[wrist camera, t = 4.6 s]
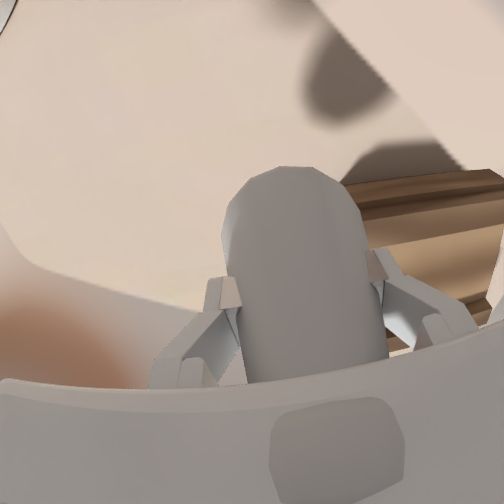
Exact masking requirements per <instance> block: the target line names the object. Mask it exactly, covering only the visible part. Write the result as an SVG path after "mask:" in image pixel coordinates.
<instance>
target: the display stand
mask: <svg viewBox="0 0 504 504" xmlns="http://www.w3.org/2000/svg"><path fill="white" fill-rule="evenodd" d="M344 187H345V188H346V190H347V191H348V193H349V194H350V196H351V197H352V199H353V201H354V202H355V204H356V205H357V207H358V208H359V210H360V214H361V217H362V221H363V225H364V229H365V233H366V237H367V241H368V245H369V249H370V250H373V249H377V248H381V247H387V248H388V250H389V251H390V253H391V254H392V256H393V258H394V259H395V261H396V262H397V264H398V266H399V267H400V269H401V271H402V272H403V274H404V276H406V275H410V276H412V277H414V278H416V279H418V280H420V281H421V282H423V283H425V284H427V285H429V286H431V287H433V288H435V289H437V290H439V291H441V292H443V293H445V294H447V295H449V296H450V297H452V298H454V299H456V300H458V301H460V302H462V303H464V305H465V306H466V308H467V310H468V311H469V313H470V314H471V316H472V318H473V319H474V321H475V323H476V324H477V326H480V325H483V324H486V323H487V321H488V318H489V316H490V313H491V311H492V307H491V305H490V304H489V302H488V301H487V300H486V298H485V297H486V294H487V291H488V288H489V285H490V281H491V278H492V274H493V271H494V267H495V264H496V260H497V256H498V252H499V248H500V243H501V239H502V234H503V229H504V178H503V177H501V176H500V175H498V174H497V173H495V172H493V171H492V170H490V169H483V170H470V171H459V172H449V173H439V174H430V175H421V176H412V177H404V178H396V179H388V180H381V181H373V182H366V183H359V184H352V185H345V186H344ZM385 331H386V337H387V344H388V351H389V352H393V351H397V350H401V349H405V348H409V347H410V346H409V345H407V344H406V343H405V342H404V341H402V340H401V339H400V338H399V337H398V336H396V335H395V334H394V333H393V332H391V331H390V330H389V329H388V328H386V327H385Z"/></svg>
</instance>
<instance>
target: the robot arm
mask: <svg viewBox="0 0 504 504" xmlns="http://www.w3.org/2000/svg"><path fill="white" fill-rule="evenodd" d="M15 1H16V0H0V32H1V31H2V29H3V27H4V25H5V23H6V21H7V19H8V17H9V15H10V13H11V11H12V8H13V6H14V4H15ZM365 256H366V262H367V269H368V276H369V283H370V284H371V286H372V287H373V288H374V289H375V290H377V291H378V292H379V296H380V301H381V307H382V313H383V318H384V324H385V327H386V328H388V329H389V330H390V331H391V332H393V333H394V334H395V335H396V336H398V337H399V338H400V339H401V340H402V341H404V342H405V343H406V344H407V345H409V346H410V347H411V348H412V349H413V352H409V353H406V354H402V355H399V356H395V357H391V358H387V359H383V360H379V361H375V362H371V363H367V364H363V365H358V366H354V367H349V368H345V369H340V370H335V371H330V372H325V373H319V374H314V375H308V376H302V377H296V378H289V379H282V380H275V381H267V382H259V383H251V384H241V385H231V386H219V385H218V384H217V383H218V381H219V380H220V378H221V377H222V375H223V373H224V372H225V370H226V369H227V367H228V365H229V364H230V362H231V361H232V359H233V358H234V356H235V355H236V353H237V351H238V350H239V347H241V345H240V340H239V334H238V329H237V324H236V317H237V315H238V314H239V312H240V311H241V309H242V303H241V299H240V295H239V292H238V288H237V284H236V280H235V277H234V276H233V275H230V276H224V277H217V278H211V279H209V280H208V283H207V289H206V295H205V301H204V307H203V312H202V313H198V314H197V315H196V317H194V318H193V319H192V321H191V322H190V323H189V324H188V325H187V326H186V327H185V328H184V329H183V330H182V331H181V332H180V333H179V334H178V335H177V336H176V337H175V338H174V340H172V341H171V343H170V344H169V345H168V346H167V347H166V348H165V349H164V350H163V351H162V352H161V353H160V354H159V355H158V356H157V357H156V358H155V359H154V363H153V367H152V371H151V376H150V380H149V384H148V389H105V388H104V389H103V388H87V387H73V386H63V385H53V384H44V383H36V382H29V381H23V380H17V379H11V378H7V379H3V380H2V381H1V382H0V504H283V503H281V502H280V499H279V496H278V493H277V491H276V488H275V485H274V482H273V479H272V476H271V473H270V470H269V467H268V466H269V451H270V435H271V430H272V428H273V426H274V424H275V422H276V420H277V419H278V418H279V417H281V416H282V415H284V414H285V413H286V412H290V411H295V410H299V409H303V408H307V407H311V406H315V405H319V404H323V403H326V402H330V401H340V400H348V399H356V398H364V397H370V396H372V397H376V398H380V399H382V400H383V401H385V402H386V403H387V404H388V405H389V406H390V407H391V408H392V410H393V412H394V414H395V417H396V419H397V422H398V424H399V427H400V429H401V432H402V434H403V437H404V439H405V458H404V476H403V479H402V480H401V481H400V482H398V483H396V484H394V485H392V486H390V487H388V488H386V489H384V490H382V491H380V492H378V493H376V494H374V495H371V496H369V497H367V498H365V499H363V500H360V501H358V502H356V503H353V504H504V319H503V320H501V321H498V322H496V323H494V324H491V325H488V326H486V327H483V328H481V329H479V328H478V326H477V324H476V323H475V321H474V319H473V318H472V316H471V314H470V313H469V311H468V310H467V308H466V306H465V305H464V303H462V302H460V301H458V300H456V299H454V298H452V297H450V296H449V295H447V294H445V293H443V292H441V291H439V290H437V289H435V288H433V287H431V286H429V285H427V284H425V283H423V282H421V281H420V280H418V279H416V278H414V277H412V276H410V275H406V276H404V274H403V272H402V271H401V269H400V267H399V266H398V264H397V262H396V261H395V259H394V258H393V256H392V254H391V253H390V251H389V250H388V248H387V247H381V248H377V249H373V250H370V251H365Z"/></svg>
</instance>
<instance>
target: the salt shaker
mask: <svg viewBox="0 0 504 504" xmlns="http://www.w3.org/2000/svg"><path fill="white" fill-rule="evenodd" d="M221 238H222V244H223V250H224V256H225V262H226V268H227V274H228V276H230V275H233V276H234V277H235V280H236V284H237V288H238V292H239V295H240V299H241V303H242V309H241V311H240V312H239V314H238V315H237V317H236V324H237V329H238V334H239V340H240V345H241V350H242V355H243V360H244V366H245V371H246V376H247V381H248V384H251V383H259V382H267V381H275V380H282V379H289V378H296V377H302V376H308V375H314V374H319V373H325V372H330V371H335V370H340V369H345V368H349V367H354V366H358V365H363V364H367V363H371V362H375V361H379V360H383V359H387V358H389V351H388V344H387V337H386V331H385V324H384V318H383V313H382V307H381V301H380V296H379V292H378V291H377V290H375V289H374V288H373V287H372V286H371V284H370V283H369V276H368V269H367V262H366V256H365V251H370V249H369V245H368V241H367V237H366V233H365V229H364V225H363V221H362V217H361V214H360V210H359V208H358V207H357V205H356V204H355V202H354V201H353V199H352V197H351V196H350V194H349V193H348V191H347V190H346V188H345V187H344V186H343V185H342V184H340V183H339V182H337V181H336V180H334V179H332V178H331V177H329V176H327V175H325V174H324V173H322V172H320V171H318V170H317V169H315V168H313V167H287V166H279V167H277V168H274V169H272V170H270V171H267V172H265V173H262V174H260V175H258V176H255V177H253V178H251V179H249V180H248V181H247V183H246V184H245V185H244V186H243V187H242V188H241V189H240V191H239V192H238V193H237V194H236V195H235V196H234V198H233V199H232V200H231V201H230V202H229V205H228V207H227V211H226V215H225V220H224V224H223V228H222V233H221ZM404 458H405V439H404V437H403V434H402V432H401V429H400V427H399V424H398V422H397V419H396V417H395V414H394V412H393V410H392V408H391V407H390V406H389V405H388V404H387V403H386V402H385V401H383V400H382V399H380V398H376V397H372V396H370V397H364V398H356V399H348V400H340V401H330V402H326V403H323V404H319V405H315V406H311V407H307V408H303V409H299V410H295V411H290V412H286V413H285V414H284V415H282V416H281V417H279V418H278V419H277V420H276V422H275V424H274V426H273V428H272V430H271V435H270V451H269V466H268V467H269V470H270V473H271V476H272V479H273V482H274V485H275V488H276V491H277V493H278V496H279V499H280V502H281V503H283V504H353V503H356V502H358V501H360V500H363V499H365V498H367V497H369V496H371V495H374V494H376V493H378V492H380V491H382V490H384V489H386V488H388V487H390V486H392V485H394V484H396V483H398V482H400V481H401V480H402V479H403V476H404Z"/></svg>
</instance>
